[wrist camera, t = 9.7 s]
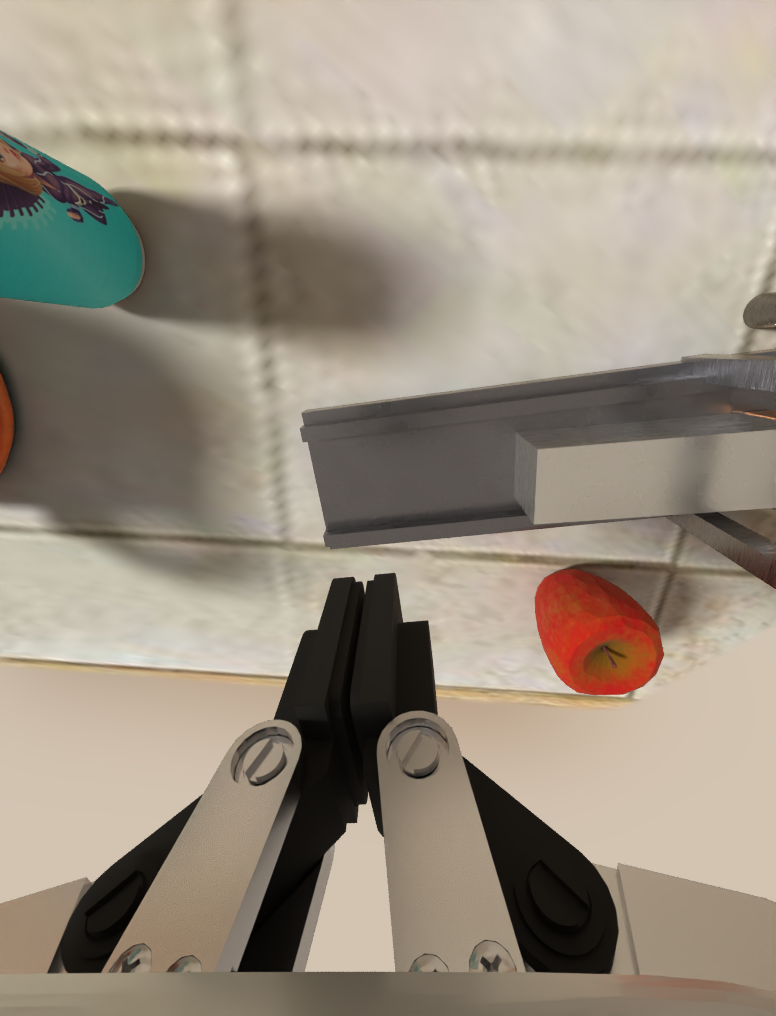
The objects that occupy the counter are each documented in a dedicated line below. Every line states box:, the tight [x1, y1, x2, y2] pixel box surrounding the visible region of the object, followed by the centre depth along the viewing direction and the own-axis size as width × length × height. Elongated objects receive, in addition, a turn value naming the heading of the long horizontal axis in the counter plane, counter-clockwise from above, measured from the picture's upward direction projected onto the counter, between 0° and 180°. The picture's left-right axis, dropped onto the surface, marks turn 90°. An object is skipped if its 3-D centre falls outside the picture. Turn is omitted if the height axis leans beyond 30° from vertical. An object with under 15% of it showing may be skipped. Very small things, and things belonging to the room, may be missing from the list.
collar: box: [667, 354, 776, 589], centre depth 19 cm, size 9×1×9 cm, turn 8°
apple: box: [535, 569, 664, 695], centre depth 24 cm, size 6×6×8 cm
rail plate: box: [300, 349, 776, 549], centre depth 23 cm, size 9×32×2 cm, turn 98°
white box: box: [514, 410, 776, 524], centre depth 21 cm, size 18×4×4 cm, turn 96°
